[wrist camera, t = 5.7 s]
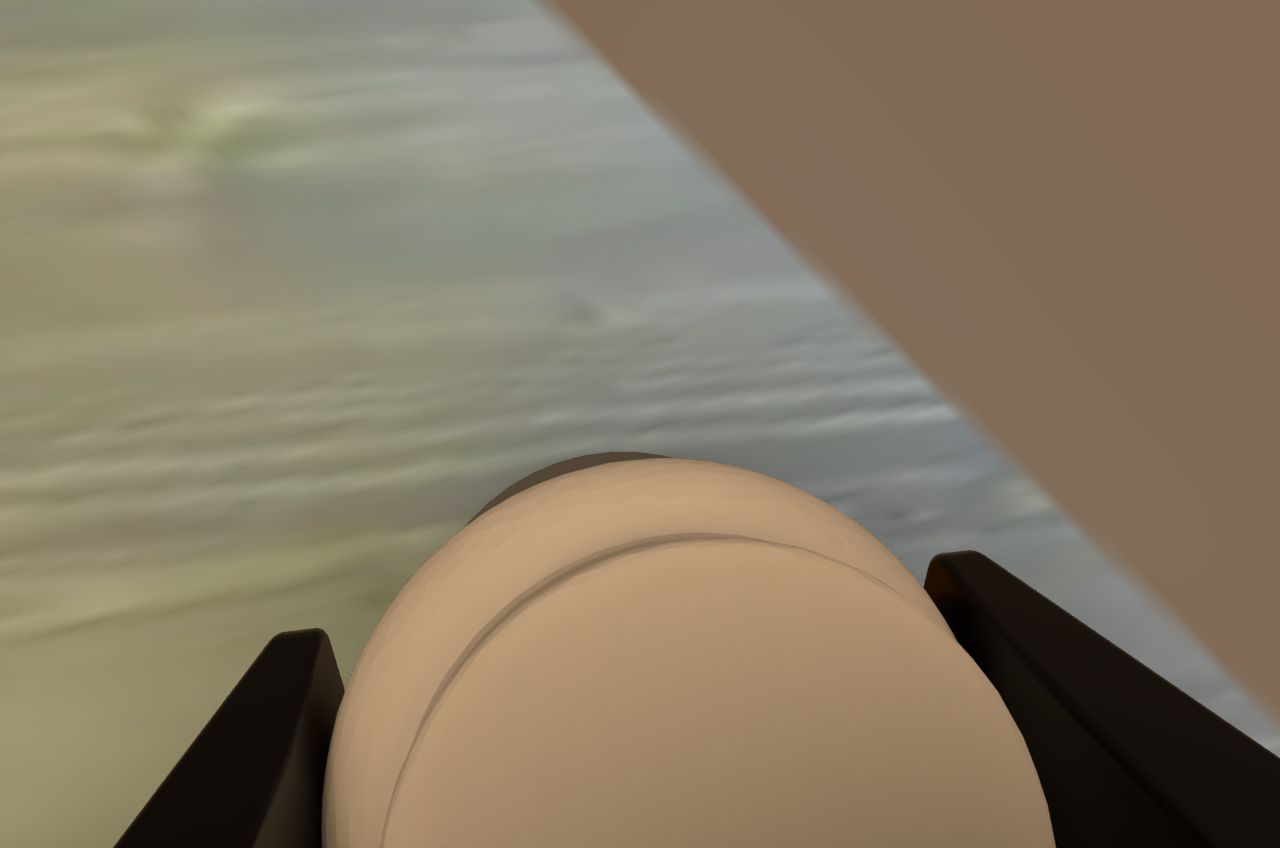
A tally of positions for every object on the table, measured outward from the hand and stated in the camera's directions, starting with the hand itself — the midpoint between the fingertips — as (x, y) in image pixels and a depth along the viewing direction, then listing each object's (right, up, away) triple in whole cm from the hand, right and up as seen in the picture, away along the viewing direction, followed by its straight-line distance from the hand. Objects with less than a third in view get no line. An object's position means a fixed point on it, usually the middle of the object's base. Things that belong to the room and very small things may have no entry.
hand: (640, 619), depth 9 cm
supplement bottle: (-1, -2, +7) cm, 7 cm away
